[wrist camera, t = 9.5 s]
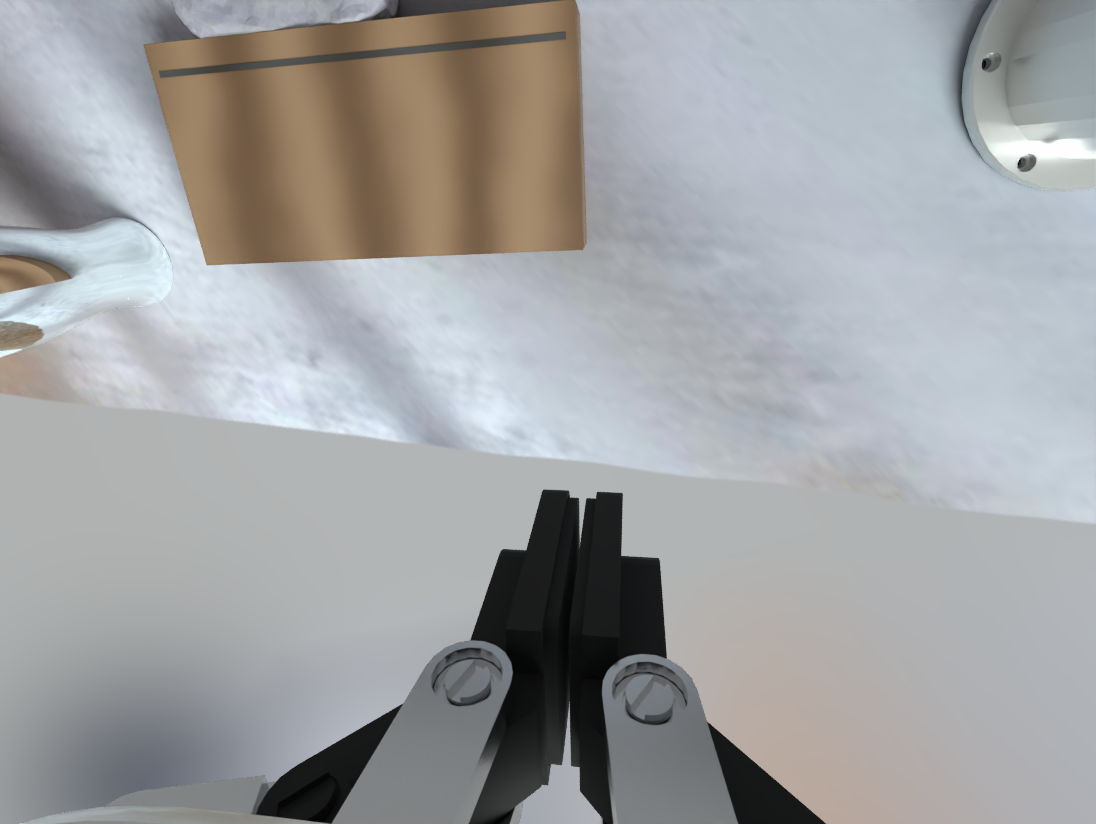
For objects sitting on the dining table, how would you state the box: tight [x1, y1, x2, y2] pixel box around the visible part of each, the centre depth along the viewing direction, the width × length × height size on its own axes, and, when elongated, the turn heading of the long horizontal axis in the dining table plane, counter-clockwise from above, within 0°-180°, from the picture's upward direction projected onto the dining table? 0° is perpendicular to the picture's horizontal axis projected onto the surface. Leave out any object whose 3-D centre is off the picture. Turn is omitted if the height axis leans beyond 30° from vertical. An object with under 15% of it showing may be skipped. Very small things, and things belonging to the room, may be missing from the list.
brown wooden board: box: [144, 0, 587, 265], centre depth 33 cm, size 24×12×3 cm, turn 93°
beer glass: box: [0, 217, 173, 358], centre depth 33 cm, size 7×7×15 cm
